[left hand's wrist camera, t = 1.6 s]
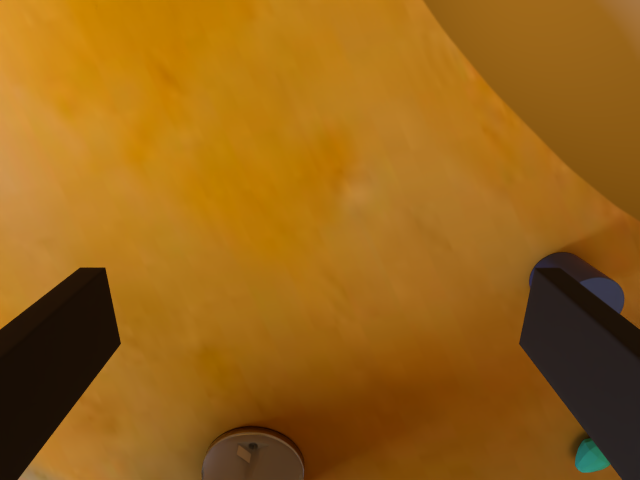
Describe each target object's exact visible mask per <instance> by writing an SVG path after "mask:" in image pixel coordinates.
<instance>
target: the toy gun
mask: <svg viewBox="0 0 640 480" xmlns="http://www.w3.org/2000/svg"><path fill="white" fill-rule="evenodd" d="M609 465H610V463H609V461H608V460H607V459H606V457H605V456H604V455H603V453H602V452H601V451H600V450H599V448H598V447H597V446H596V444H595V443H594V442H593V440H592V439H591V438H588V439H584V440H583V441H582V443H581V444H580V446H579V448H578V451H577V454H576V459H575V466H576V468H577V469H578V470H579V471H581V472H583V473H584V472H594V471H598V470H602V469H604V468H606V467H608V466H609Z"/></svg>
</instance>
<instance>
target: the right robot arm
mask: <svg viewBox="0 0 640 480" xmlns="http://www.w3.org/2000/svg"><path fill="white" fill-rule="evenodd" d="M303 479H304V460H303V457H302V454H301V452H300V451H299V449H298V448H297V446H296V445H295V444H294V443H293V442H292V441H291V440H289V439H288V438H287V437H285V436H283V435H282V434H280V433H277V432H275V431H272V430H269V429H265V428H258V427H245V428H239V429H235V430H231V431H229V432H226V433H224V434H222V435H221V436H219V437H218V438H217V439H216V440H215V441H213V443H212V444H211V445H210V447H209V448H208V450H207V452H206V455H205V459H204V462H203V466H202V480H303Z"/></svg>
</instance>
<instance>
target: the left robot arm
mask: <svg viewBox="0 0 640 480" xmlns="http://www.w3.org/2000/svg"><path fill="white" fill-rule="evenodd" d="M120 344H121V342H120V337H119V333H118V328H117V323H116V318H115V313H114V308H113V303H112V298H111V294H110V289H109V284H108V279H107V274H106V269H105V268H79V269H78V270H76V271H75V272H74V273H73V274H71V275H70V276H69V277H67V278H66V279H65V280H64V281H62V282H61V283H60V284H58V285H57V286H56V287H55V288H53V289H52V290H51V291H49V292H48V293H47V294H46V295H44V296H43V297H42V298H40V299H39V300H38V301H37V302H35V303H34V304H33V305H31V306H30V307H29V308H28V309H26V310H25V311H24V312H22V313H21V314H20V315H19V316H17V317H16V318H15V319H13V320H12V321H11V322H9V323H8V324H7V325H6V326H4V327H3V328H2V329H0V480H18V479H19V477H20V476H21V475H22V473H23V472H24V471H25V469H26V468H27V467H28V465H29V464H30V463H31V461H32V460H33V459H34V457H35V456H36V455H37V453H38V452H39V451H40V450H41V448H42V447H43V446H44V444H45V443H46V442H47V440H48V439H49V438H50V436H51V435H52V434H53V432H54V431H55V430H56V428H57V427H58V426H59V425H60V423H61V422H62V421H63V419H64V418H65V417H66V415H67V414H68V413H69V411H70V410H71V409H72V407H73V406H74V405H75V403H76V402H77V401H78V400H79V398H80V397H81V396H82V394H83V393H84V392H85V390H86V389H87V388H88V386H89V385H90V384H91V382H92V381H93V380H94V378H95V377H96V376H97V374H98V373H99V372H100V371H101V369H102V368H103V367H104V365H105V364H106V363H107V361H108V360H109V359H110V357H111V356H112V355H113V353H114V352H115V351H116V349H117V348H118V347H119V346H120ZM519 344H520V346H521V347H522V348H523V349H524V351H525V352H526V353H527V355H528V356H529V357H530V359H531V360H532V361H533V363H534V364H535V365H536V367H537V368H538V369H539V371H540V372H541V373H542V374H543V376H544V377H545V378H546V380H547V381H548V382H549V384H550V385H551V386H552V388H553V389H554V390H555V392H556V393H557V394H558V396H559V397H560V398H561V400H562V401H563V402H564V403H565V405H566V406H567V407H568V409H569V410H570V411H571V413H572V414H573V415H574V417H575V418H576V419H577V421H578V422H579V423H580V425H581V426H582V427H583V428H584V430H585V431H586V432H587V434H588V435H589V436H590V438H591V439H592V440H593V442H594V443H595V444H596V446H597V447H598V448H599V450H600V451H601V452H602V453H603V455H604V456H605V457H606V459H607V460H608V461H609V463H610V464H611V465H612V467H613V468H614V469H615V471H616V472H617V473H618V475H619V476H620V477H621V479H622V480H640V329H638V328H637V327H636V326H634V325H633V324H632V323H631V322H629V321H628V320H627V319H625V318H624V317H623V316H621V315H620V314H619V313H618V312H616V311H615V310H614V309H612V308H611V307H610V306H609V305H607V304H606V303H605V302H603V301H602V300H601V299H600V298H598V297H597V296H596V295H594V294H593V293H592V292H591V291H589V290H588V289H587V288H585V287H584V286H583V285H582V284H580V283H579V282H578V281H576V280H575V279H574V278H573V277H571V276H570V275H569V274H567V273H566V272H565V271H564V270H562V269H561V268H535V269H534V274H533V279H532V284H531V289H530V294H529V298H528V303H527V308H526V313H525V318H524V323H523V328H522V333H521V337H520V342H519Z"/></svg>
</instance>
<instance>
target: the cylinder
mask: <svg viewBox="0 0 640 480" xmlns="http://www.w3.org/2000/svg"><path fill="white" fill-rule="evenodd" d="M535 268H561V269H562V270H564V271H565V272H566V273H567V274H569V275H570V276H571V277H573V278H574V279H575V280H576V281H578V282H579V283H580V284H582V285H583V286H584V287H585V288H587V289H588V290H589V291H591V292H592V293H593V294H594V295H596V296H597V297H598V298H600V299H601V300H602V301H603V302H605V303H606V304H607V305H609V306H610V307H611V308H612V309H614V310H615V311H616V312H618V313H619V314H620V313H621V311H622V308H623V305H624V293H623V291H622V288H621V287H620V286H619V285H618V283H616V282H615V281H613V280H612V279H610V278H609V277H607V276H606V275H604V274H603V273H601V272H600V271H598V270H597V269H595V268H594V267H592V266H591V265H589V264H588V263H586V262H585V261H583V260H582V259H580V258H579V257H577V256H576V255H574V254H571V253H565V252H561V253H555V254H551V255H549V256H547V257H545V258H543V259H542V260H541V261H540V262H538V263H537V265H536V266H535V267H534V269H535ZM534 269H533V270H532V272H531V275H530V280H529V284H530V289H531V284H532V279H533V274H534Z"/></svg>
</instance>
